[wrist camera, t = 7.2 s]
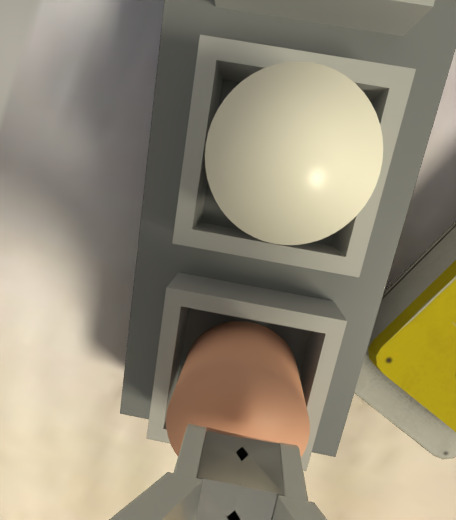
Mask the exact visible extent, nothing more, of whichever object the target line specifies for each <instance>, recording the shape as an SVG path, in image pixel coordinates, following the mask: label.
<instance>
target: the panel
mask: <svg viewBox="0 0 456 520" xmlns="http://www.w3.org/2000/svg"><path fill="white" fill-rule="evenodd" d="M455 49H456V0H165V1H164V10H163V19H162V29H161V38H160V47H159V56H158V66H157V75H156V84H155V93H154V103H153V112H152V121H151V130H150V140H149V149H148V158H147V167H146V177H145V186H144V195H143V204H142V214H141V223H140V232H139V241H138V251H137V260H136V269H135V278H134V288H133V297H132V306H131V315H130V325H129V334H128V343H127V352H126V362H125V371H124V380H123V390H122V399H121V408H120V414H125V415H130V416H135V417H140V418H145V419H149V423H148V431H147V438H146V439H150V440H155V441H160V442H165V443H170V441H169V438H168V434H167V430H166V413H167V409H168V405H169V402H170V400H171V397H172V395H173V392H174V389H175V387H176V384H177V382H178V379H179V376H180V374H181V371H182V369H183V366H184V363H185V361H186V358H187V356H188V353H189V350H190V349H191V347H192V345H193V344H194V342H195V341H196V340H197V339H198V338H199V337H200V336H201V335H202V334H203V333H204V332H206V331H207V330H209V329H211V328H212V327H214V326H217V325H219V324H223V323H227V322H234V321H245V322H252V323H256V324H259V325H262V326H265V327H267V328H268V329H270V330H272V331H274V332H275V333H276V334H278V335H279V336H280V337H281V338H282V339H283V340H284V341H285V342H286V343H287V344H288V346H289V347H290V349H291V351H292V353H293V355H294V357H295V360H296V364H297V368H298V372H299V377H300V381H301V385H302V390H303V394H304V398H305V403H306V407H307V412H308V416H309V423H310V435H309V440H308V444H307V447H306V450H305V451H304V453H303V455H302V457H301V461H302V467H303V471H306V470H307V467H308V463H309V459H310V456H311V452H314V453H318V454H323V455H328V456H333V457H335V456H336V453H337V449H338V446H339V443H340V439H341V436H342V432H343V429H344V426H345V422H346V419H347V415H348V412H349V409H350V405H351V402H352V398H353V395H354V392H355V388H356V385H357V381H358V378H359V375H360V371H361V368H362V365H363V361H364V358H365V354H366V351H367V348H368V344H369V341H370V337H371V334H372V331H373V327H374V324H375V320H376V317H377V314H378V310H379V307H380V303H381V300H382V297H383V293H384V290H385V286H386V283H387V280H388V276H389V273H390V269H391V266H392V263H393V259H394V256H395V252H396V249H397V246H398V242H399V239H400V235H401V232H402V229H403V225H404V222H405V218H406V215H407V212H408V208H409V205H410V201H411V198H412V195H413V191H414V188H415V184H416V181H417V178H418V174H419V171H420V167H421V164H422V161H423V157H424V154H425V150H426V147H427V144H428V140H429V137H430V133H431V130H432V127H433V123H434V120H435V117H436V113H437V110H438V106H439V103H440V100H441V96H442V93H443V89H444V86H445V83H446V79H447V76H448V72H449V69H450V66H451V62H452V59H453V55H454V52H455ZM294 61H303V62H313V63H317V64H321V65H325V66H327V67H330V68H332V69H335V70H337V71H339V72H340V73H342V74H344V75H345V76H347V77H348V78H349V79H351V80H352V81H353V82H354V83H356V85H357V86H358V87H359V88H360V89H361V90H362V91H363V92H364V93H365V95H366V96H367V98H368V99H369V101H370V102H371V104H372V106H373V108H374V110H375V112H376V114H377V117H378V120H379V123H380V126H381V131H382V136H383V161H382V167H381V171H380V175H379V178H378V181H377V184H376V187H375V189H374V191H373V193H372V195H371V197H370V198H369V200H368V202H367V203H366V205H365V206H364V207H363V209H362V210H361V211H360V212H359V213H358V215H357V216H356V217H355V218H354V219H353V220H351V221H350V222H349V223H348V224H347V225H346V226H344V227H343V228H342V229H340V230H339V231H337V232H335V233H334V234H332V235H330V236H328V237H326V238H323V239H321V240H318V241H314V242H311V243H307V244H300V245H280V244H273V243H269V242H265V241H262V240H260V239H257V238H255V237H253V236H251V235H249V234H247V233H245V232H244V231H242V230H241V229H240V228H238V227H237V226H236V225H235V224H234V223H232V222H231V221H230V220H229V219H228V218H227V216H226V215H225V214H224V213H223V211H222V210H221V209H220V207H219V205H218V204H217V202H216V201H215V199H214V196H213V194H212V192H211V190H210V186H209V183H208V180H207V174H206V168H205V148H206V141H207V136H208V131H209V129H210V126H211V123H212V120H213V118H214V116H215V114H216V112H217V110H218V108H219V107H220V105H221V104H222V102H223V101H224V99H225V98H226V97H227V96H228V94H229V93H230V92H231V91H232V90H233V89H234V88H235V87H236V86H237V85H238V84H239V83H240V82H242V81H243V80H244V79H246V78H247V77H249V76H250V75H252V74H253V73H255V72H257V71H259V70H261V69H263V68H266V67H269V66H272V65H275V64H279V63H284V62H294ZM170 444H171V443H170Z"/></svg>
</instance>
